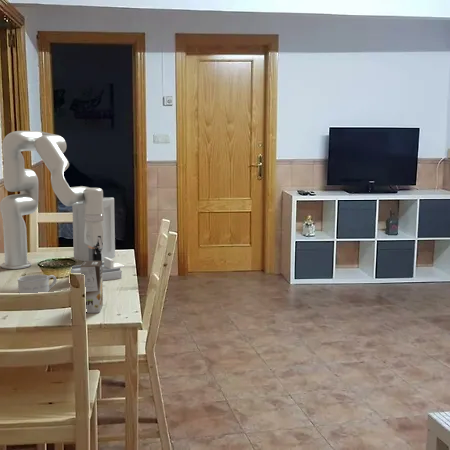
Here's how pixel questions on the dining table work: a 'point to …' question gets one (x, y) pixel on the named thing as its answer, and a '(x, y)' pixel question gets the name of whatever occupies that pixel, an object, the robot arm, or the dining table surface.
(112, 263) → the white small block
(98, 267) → the coffee box
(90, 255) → the plug
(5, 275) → the dining table surface
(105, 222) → the tall white carton
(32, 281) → the teacup
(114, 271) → the socket
